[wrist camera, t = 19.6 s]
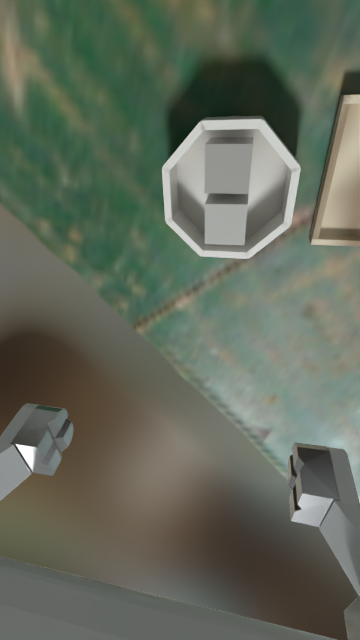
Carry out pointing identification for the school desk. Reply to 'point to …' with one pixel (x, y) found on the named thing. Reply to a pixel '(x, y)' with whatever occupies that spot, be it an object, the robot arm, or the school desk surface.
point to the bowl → (264, 186)
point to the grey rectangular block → (228, 165)
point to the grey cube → (225, 218)
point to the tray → (340, 181)
